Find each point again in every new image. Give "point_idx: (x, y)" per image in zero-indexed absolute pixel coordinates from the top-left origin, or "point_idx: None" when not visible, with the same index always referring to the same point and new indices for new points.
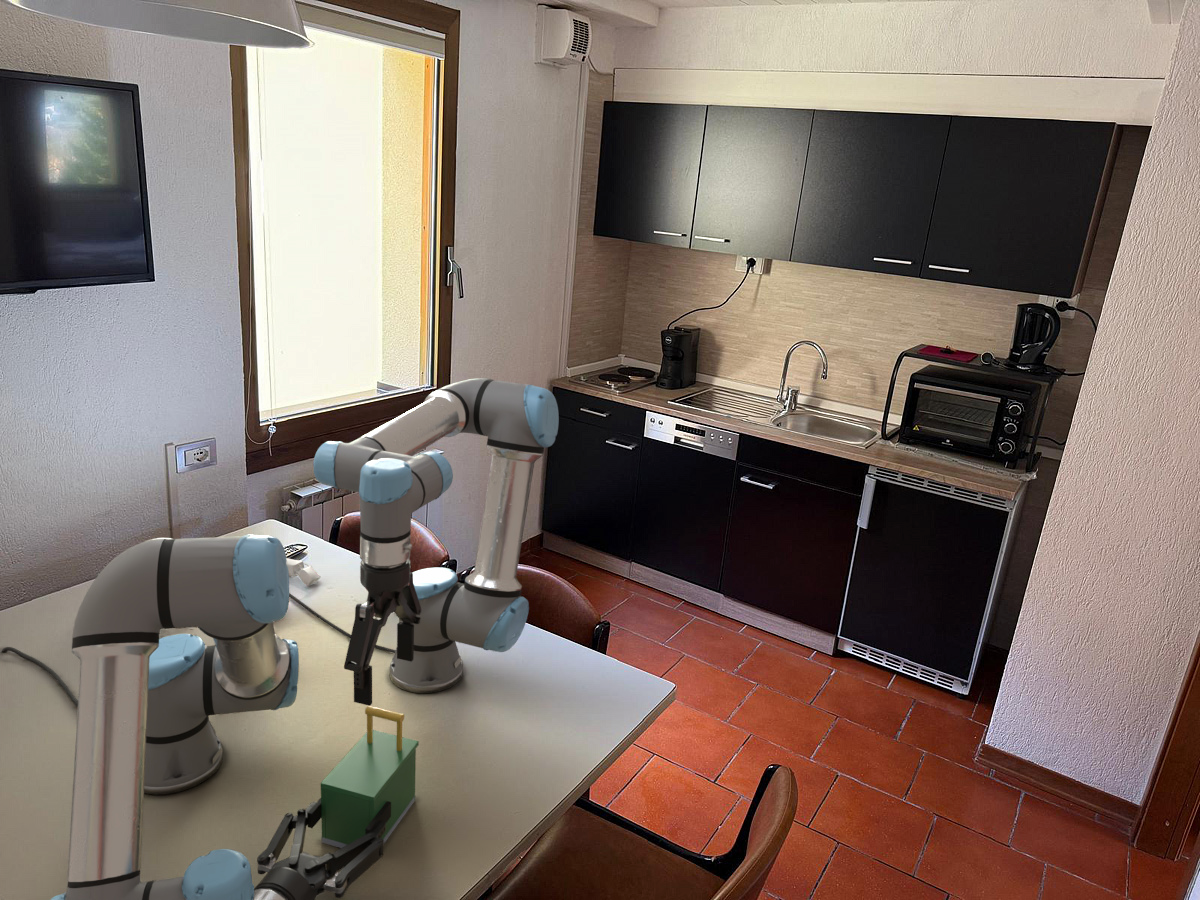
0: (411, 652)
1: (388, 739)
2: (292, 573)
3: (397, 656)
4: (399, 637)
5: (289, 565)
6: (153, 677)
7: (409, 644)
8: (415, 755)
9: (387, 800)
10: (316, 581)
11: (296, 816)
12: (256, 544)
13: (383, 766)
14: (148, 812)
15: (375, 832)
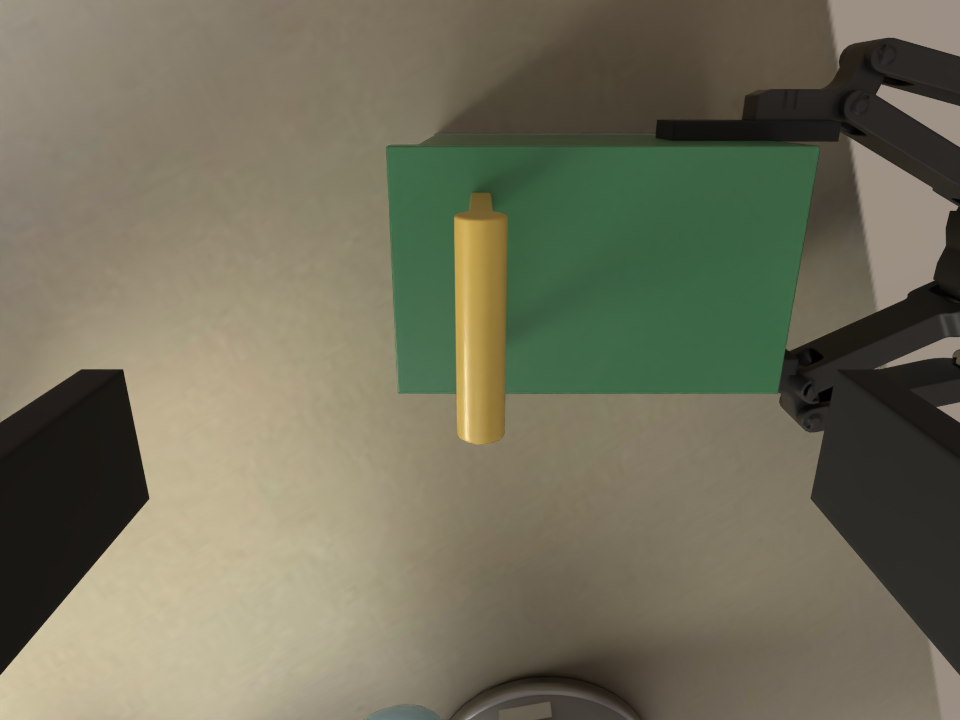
0: (66, 412)
1: (433, 284)
2: None
3: (138, 505)
4: (4, 635)
5: None
6: None
7: (12, 482)
8: (424, 142)
9: (667, 140)
10: None
11: (796, 399)
12: None
13: (612, 212)
14: (698, 711)
15: (822, 103)
